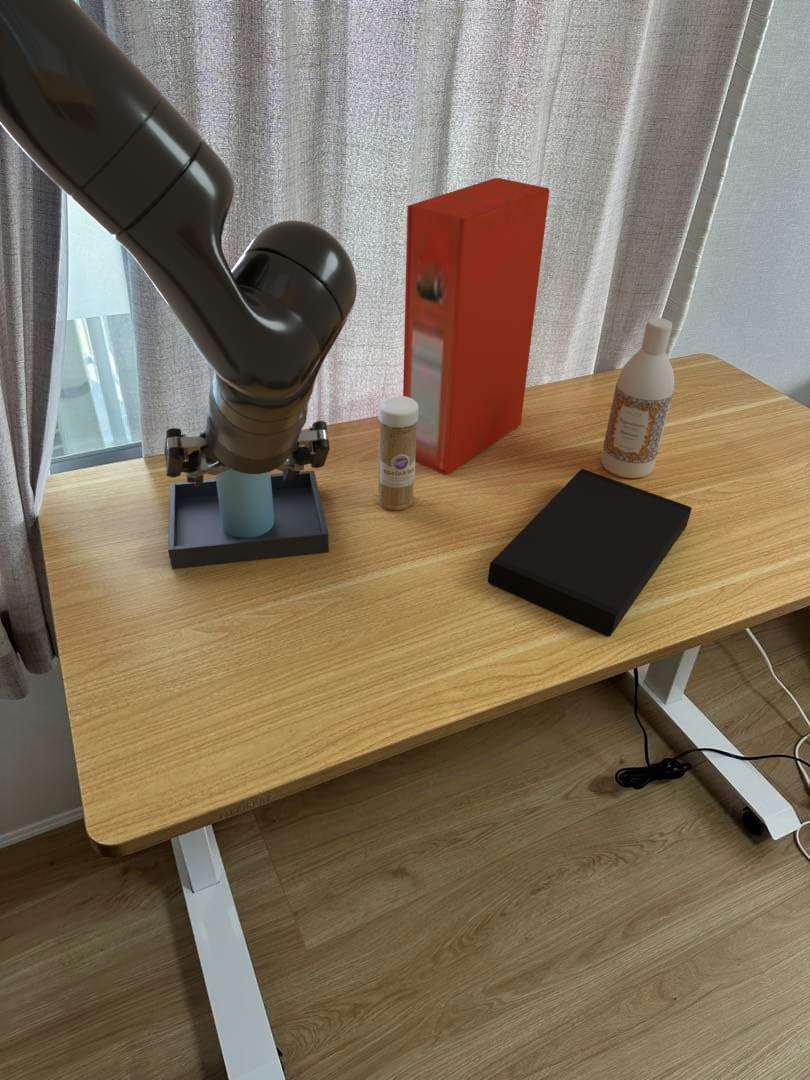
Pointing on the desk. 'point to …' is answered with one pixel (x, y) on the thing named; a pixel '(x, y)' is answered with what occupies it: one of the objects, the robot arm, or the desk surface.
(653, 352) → the bath foam
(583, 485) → the external hard drive
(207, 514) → the tray
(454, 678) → the desk surface
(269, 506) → the bottle
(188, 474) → the robot arm
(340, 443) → the desk surface
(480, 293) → the file binder
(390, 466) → the sprinkles bottle
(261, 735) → the desk surface
